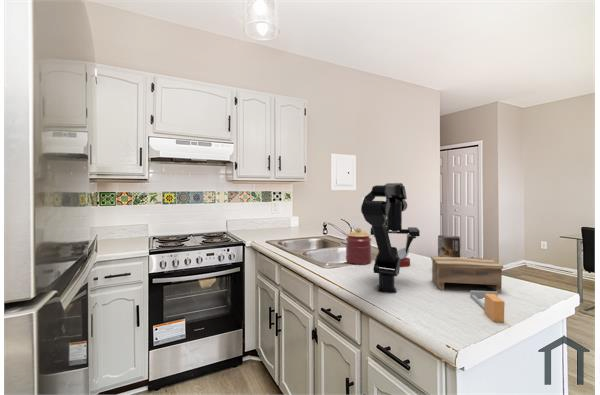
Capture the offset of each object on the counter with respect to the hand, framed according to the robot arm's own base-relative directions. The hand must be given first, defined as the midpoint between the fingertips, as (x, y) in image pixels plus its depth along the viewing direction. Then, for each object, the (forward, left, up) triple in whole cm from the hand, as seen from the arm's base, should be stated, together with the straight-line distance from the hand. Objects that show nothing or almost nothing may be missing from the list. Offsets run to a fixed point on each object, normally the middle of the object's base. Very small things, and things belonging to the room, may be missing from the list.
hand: (394, 252), depth 122 cm
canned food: (+28, -6, -13) cm, 31 cm away
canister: (+30, +14, -12) cm, 35 cm away
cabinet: (-2, -26, -12) cm, 29 cm away
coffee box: (+18, -26, -12) cm, 34 cm away
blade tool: (-23, -28, -12) cm, 38 cm away
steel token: (-13, -29, -13) cm, 34 cm away
